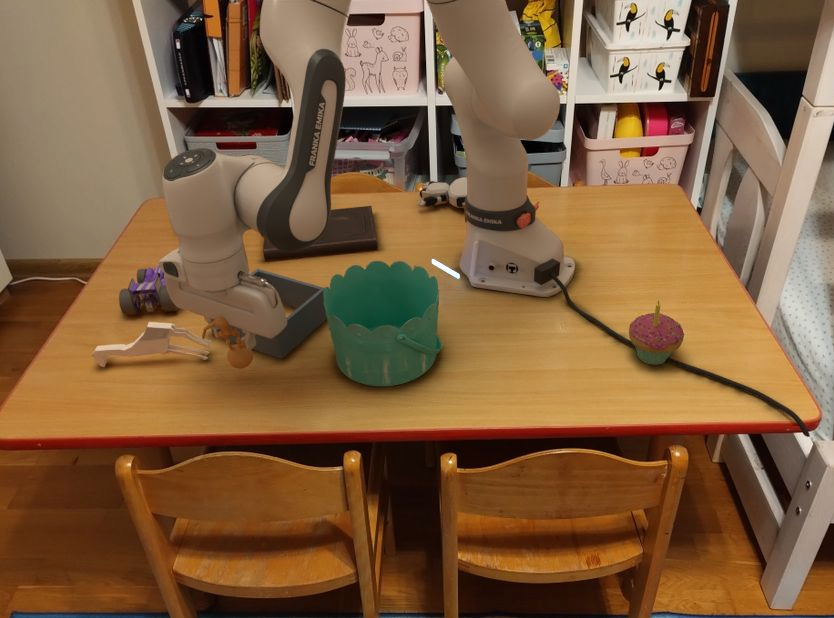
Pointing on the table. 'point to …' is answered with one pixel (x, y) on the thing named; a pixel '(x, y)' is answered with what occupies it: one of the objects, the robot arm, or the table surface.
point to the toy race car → (146, 293)
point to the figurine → (236, 353)
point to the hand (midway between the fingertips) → (236, 341)
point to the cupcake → (655, 336)
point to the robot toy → (444, 193)
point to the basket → (383, 322)
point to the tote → (298, 322)
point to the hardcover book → (336, 235)
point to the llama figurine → (152, 343)
